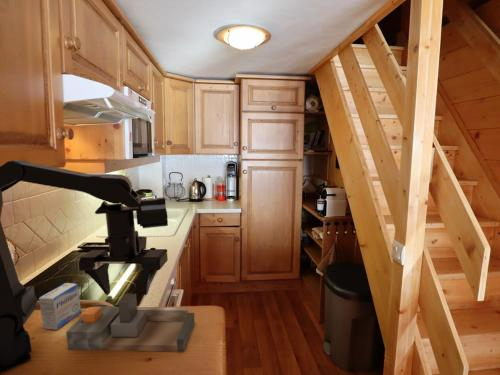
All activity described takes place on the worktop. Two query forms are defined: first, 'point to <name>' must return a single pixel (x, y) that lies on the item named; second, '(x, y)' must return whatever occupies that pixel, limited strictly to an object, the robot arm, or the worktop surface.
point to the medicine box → (60, 306)
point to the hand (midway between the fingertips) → (127, 294)
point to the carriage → (128, 318)
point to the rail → (149, 339)
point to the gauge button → (91, 315)
